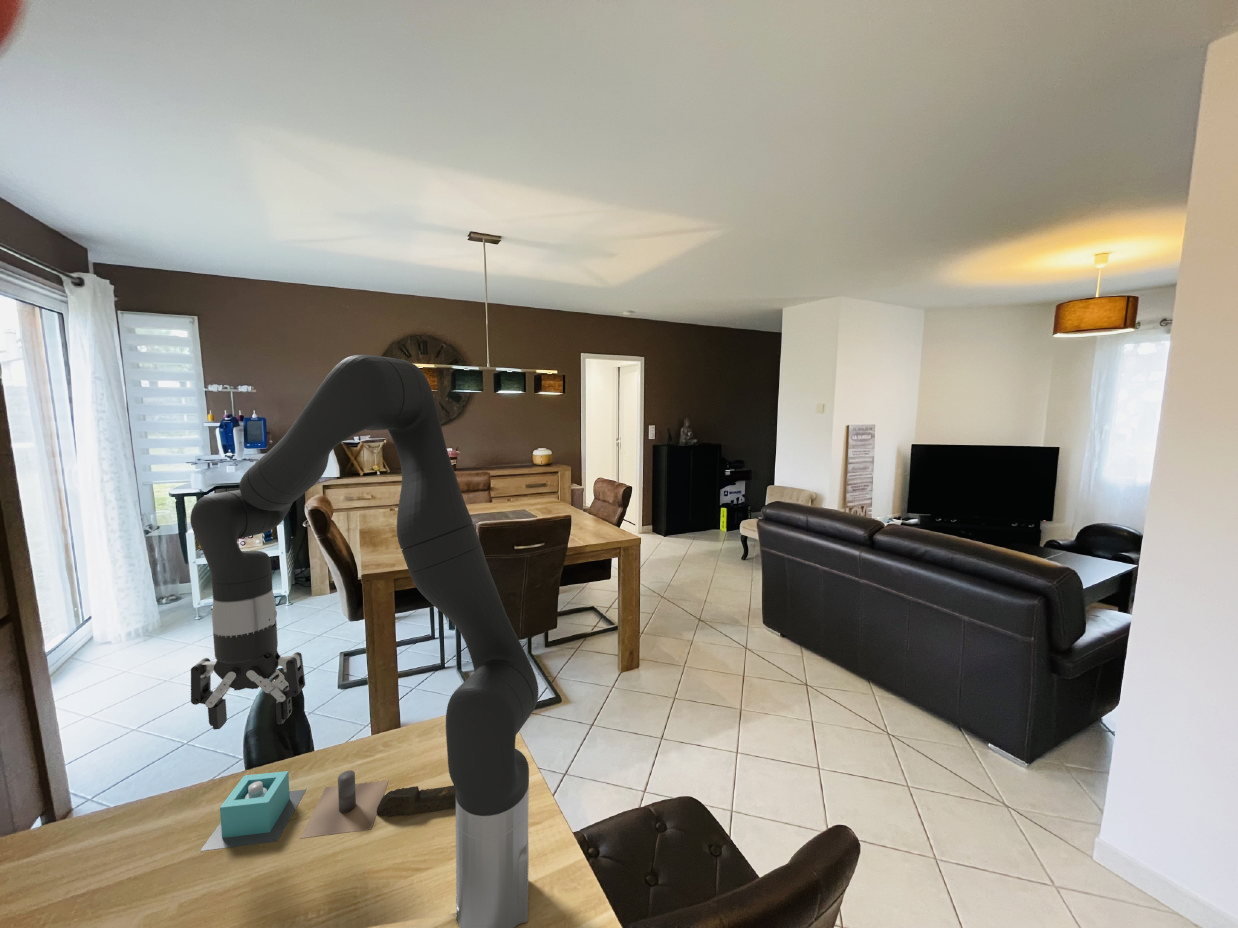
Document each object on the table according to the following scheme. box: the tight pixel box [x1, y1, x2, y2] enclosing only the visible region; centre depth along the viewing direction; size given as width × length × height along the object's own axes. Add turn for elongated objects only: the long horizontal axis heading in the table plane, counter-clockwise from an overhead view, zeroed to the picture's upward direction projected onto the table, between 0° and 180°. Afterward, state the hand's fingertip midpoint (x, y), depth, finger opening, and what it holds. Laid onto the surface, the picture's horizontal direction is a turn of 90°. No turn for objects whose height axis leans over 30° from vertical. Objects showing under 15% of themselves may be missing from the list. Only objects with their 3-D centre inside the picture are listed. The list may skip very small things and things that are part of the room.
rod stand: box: [299, 770, 389, 839], centre depth 78 cm, size 10×10×6 cm
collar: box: [219, 770, 290, 838], centre depth 76 cm, size 6×6×5 cm
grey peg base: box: [199, 781, 307, 852], centre depth 76 cm, size 10×10×6 cm
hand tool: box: [376, 784, 456, 818], centre depth 80 cm, size 19×4×5 cm, turn 102°
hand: (252, 723), depth 74 cm, fingers open, 8 cm apart
